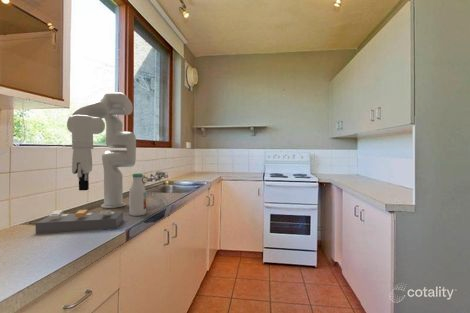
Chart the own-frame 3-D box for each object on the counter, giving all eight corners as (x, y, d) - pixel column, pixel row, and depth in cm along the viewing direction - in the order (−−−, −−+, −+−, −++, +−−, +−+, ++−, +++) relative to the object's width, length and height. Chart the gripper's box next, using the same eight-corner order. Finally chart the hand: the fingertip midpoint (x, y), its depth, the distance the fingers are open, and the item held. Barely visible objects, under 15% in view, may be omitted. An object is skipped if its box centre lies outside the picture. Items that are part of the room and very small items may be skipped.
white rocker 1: (54, 213, 105) (54, 210, 105) (63, 213, 106) (62, 209, 106) (49, 219, 101) (48, 215, 100) (58, 219, 101) (57, 215, 101)
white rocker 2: (103, 214, 110) (103, 210, 110) (111, 213, 110) (111, 209, 110) (100, 214, 105) (100, 210, 105) (108, 213, 105) (108, 209, 106)
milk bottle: (140, 216, 124) (140, 174, 123) (125, 215, 125) (125, 174, 125) (149, 212, 131) (148, 173, 131) (135, 212, 133) (135, 173, 133)
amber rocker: (79, 213, 107) (79, 209, 107) (87, 213, 108) (87, 209, 108) (75, 217, 103) (75, 213, 102) (83, 216, 103) (83, 212, 103)
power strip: (52, 223, 111) (52, 213, 111) (123, 219, 117) (123, 210, 117) (35, 233, 97) (35, 222, 97) (116, 228, 104) (116, 218, 104)
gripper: (79, 145, 113) (80, 187, 114) (65, 145, 99) (66, 193, 100) (98, 145, 115) (98, 186, 116) (87, 145, 101) (88, 193, 101)
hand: (83, 189), depth 108 cm, fingers closed
